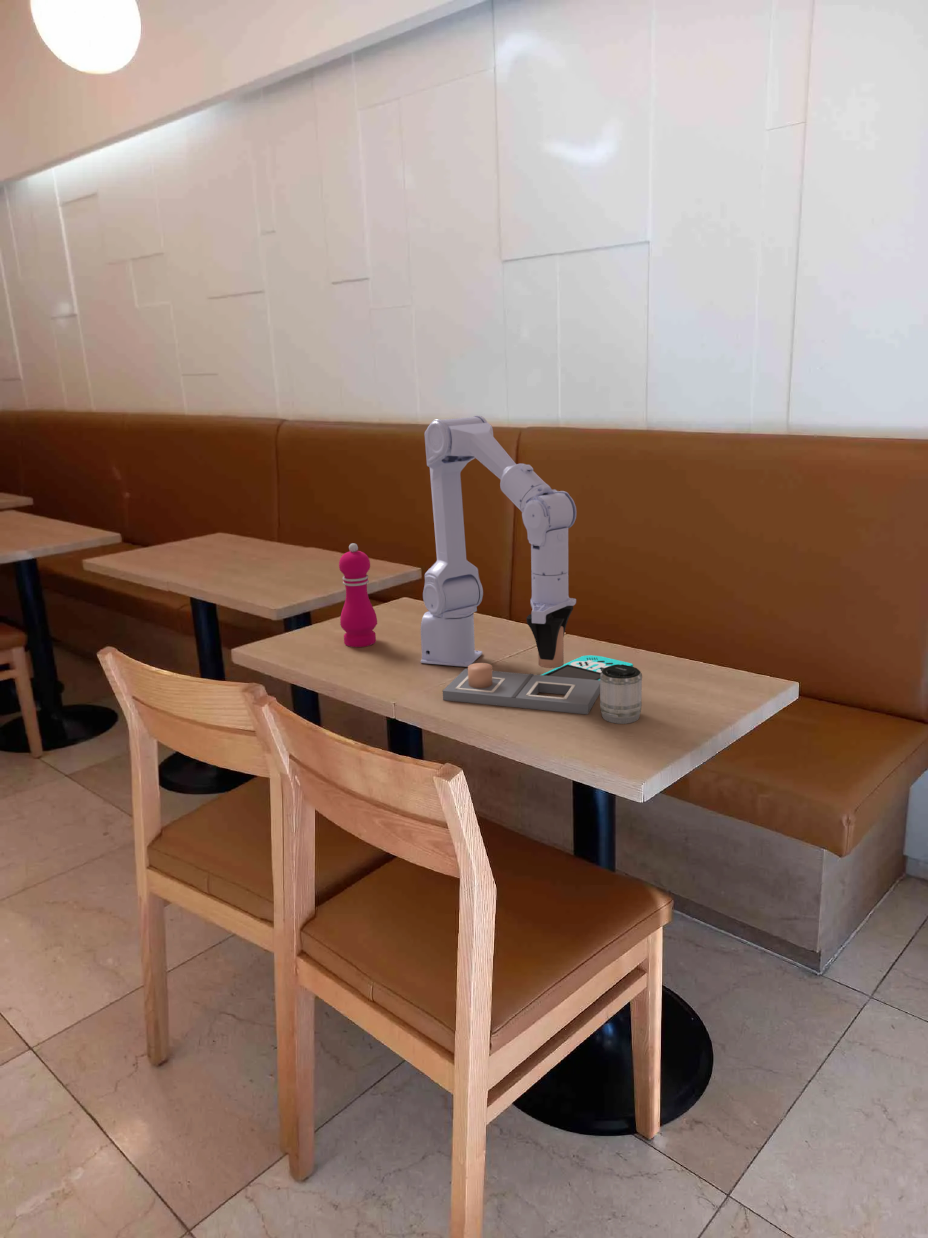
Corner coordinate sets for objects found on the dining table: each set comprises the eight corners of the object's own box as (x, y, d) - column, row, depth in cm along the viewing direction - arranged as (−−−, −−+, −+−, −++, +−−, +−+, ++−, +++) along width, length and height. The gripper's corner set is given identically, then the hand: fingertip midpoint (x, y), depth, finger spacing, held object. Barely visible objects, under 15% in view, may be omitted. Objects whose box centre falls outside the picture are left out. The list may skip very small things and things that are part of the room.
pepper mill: (358, 634, 184) (351, 538, 178) (386, 640, 180) (379, 541, 174) (334, 644, 178) (326, 545, 173) (361, 650, 174) (354, 548, 168)
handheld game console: (635, 670, 160) (635, 663, 159) (582, 697, 149) (582, 689, 148) (588, 659, 166) (588, 652, 166) (534, 683, 155) (533, 676, 155)
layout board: (443, 700, 148) (441, 673, 147) (465, 677, 158) (464, 652, 157) (587, 714, 140) (587, 686, 139) (601, 689, 150) (602, 663, 149)
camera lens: (613, 706, 143) (613, 659, 141) (648, 714, 139) (649, 666, 137) (592, 718, 138) (592, 670, 136) (628, 728, 135) (629, 678, 132)
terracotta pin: (535, 667, 143) (535, 631, 142) (542, 659, 147) (541, 623, 145) (560, 669, 142) (560, 632, 140) (566, 660, 146) (566, 625, 144)
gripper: (563, 584, 132) (564, 671, 136) (585, 562, 145) (585, 642, 149) (517, 581, 135) (519, 667, 139) (542, 560, 148) (543, 639, 152)
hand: (550, 654), depth 144 cm, fingers closed on terracotta pin, 4 cm apart
